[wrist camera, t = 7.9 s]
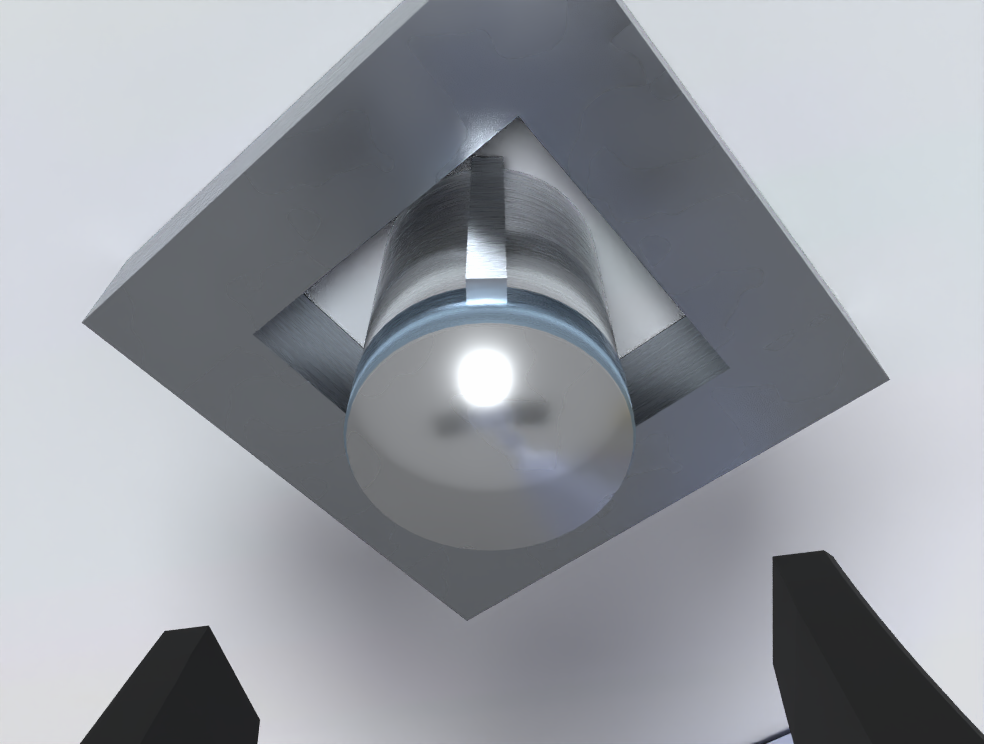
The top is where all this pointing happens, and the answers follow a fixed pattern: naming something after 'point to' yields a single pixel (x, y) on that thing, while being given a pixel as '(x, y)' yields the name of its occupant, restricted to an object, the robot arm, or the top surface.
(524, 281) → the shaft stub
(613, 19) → the grey square frame
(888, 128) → the top surface
